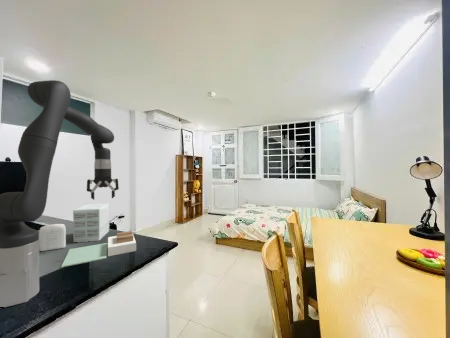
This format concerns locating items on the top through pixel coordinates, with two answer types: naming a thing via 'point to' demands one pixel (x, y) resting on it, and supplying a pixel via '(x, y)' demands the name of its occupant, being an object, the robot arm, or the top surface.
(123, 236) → the walnut tile
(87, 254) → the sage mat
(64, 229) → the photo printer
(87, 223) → the supplement box
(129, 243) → the white flat block
